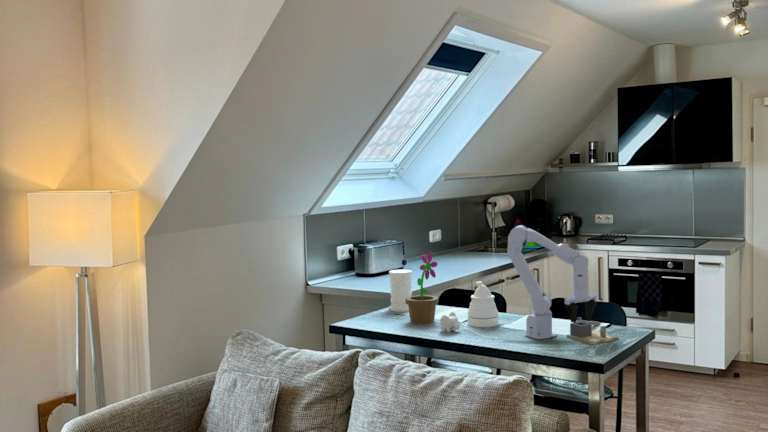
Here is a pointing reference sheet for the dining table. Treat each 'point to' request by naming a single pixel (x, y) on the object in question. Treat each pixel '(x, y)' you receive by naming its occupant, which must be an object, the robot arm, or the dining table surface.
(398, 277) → the decorative container
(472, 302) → the honey pot
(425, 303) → the flowerpot
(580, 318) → the caliper
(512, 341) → the dining table surface
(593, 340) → the post board
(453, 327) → the elephant figurine
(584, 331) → the collar
